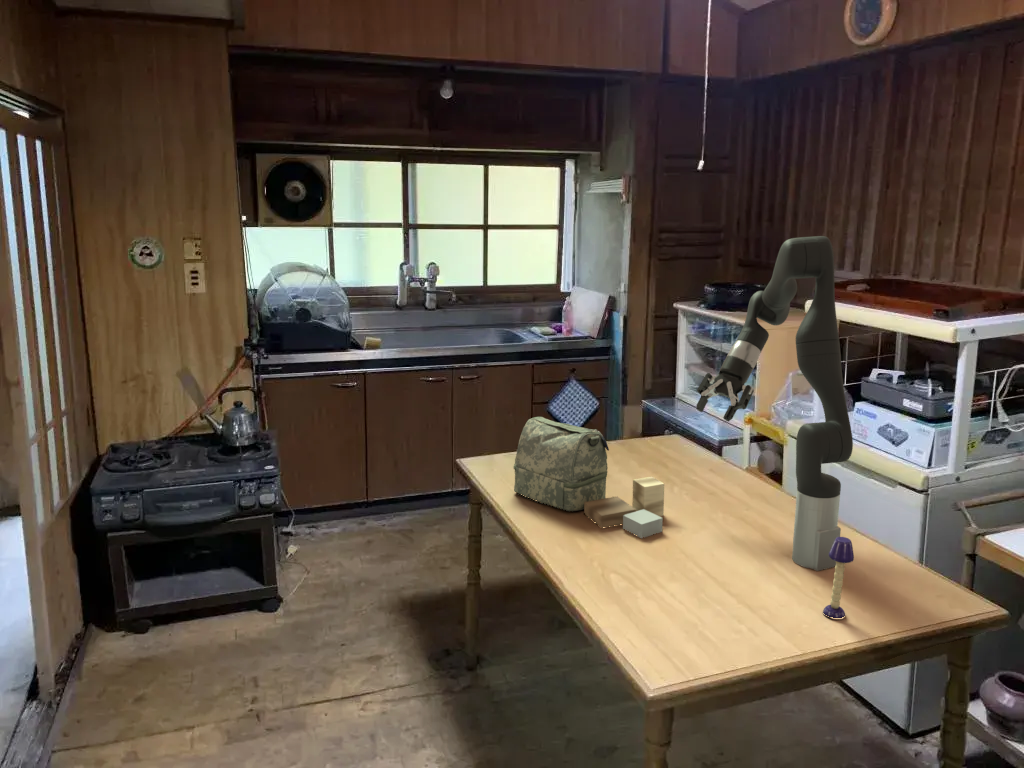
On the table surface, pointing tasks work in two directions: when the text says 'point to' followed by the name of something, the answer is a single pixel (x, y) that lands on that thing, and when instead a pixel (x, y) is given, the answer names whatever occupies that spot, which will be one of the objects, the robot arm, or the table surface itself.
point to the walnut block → (607, 511)
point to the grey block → (642, 523)
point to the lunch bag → (560, 464)
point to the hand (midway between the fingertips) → (712, 415)
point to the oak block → (648, 495)
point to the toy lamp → (839, 574)
